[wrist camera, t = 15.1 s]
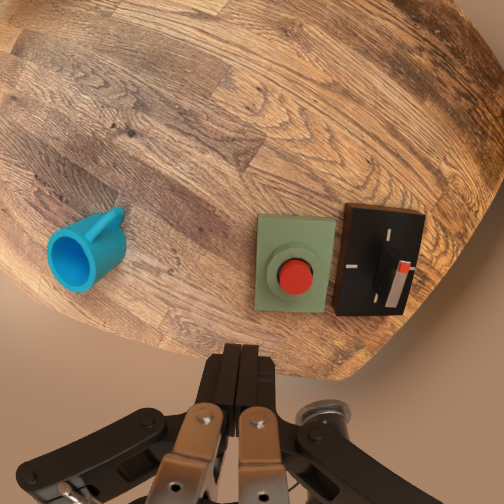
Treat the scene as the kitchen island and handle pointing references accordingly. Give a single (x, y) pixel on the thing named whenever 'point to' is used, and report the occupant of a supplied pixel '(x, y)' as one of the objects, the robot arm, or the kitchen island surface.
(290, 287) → the button
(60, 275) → the mug
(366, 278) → the base
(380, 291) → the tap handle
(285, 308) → the block
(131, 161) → the kitchen island surface
